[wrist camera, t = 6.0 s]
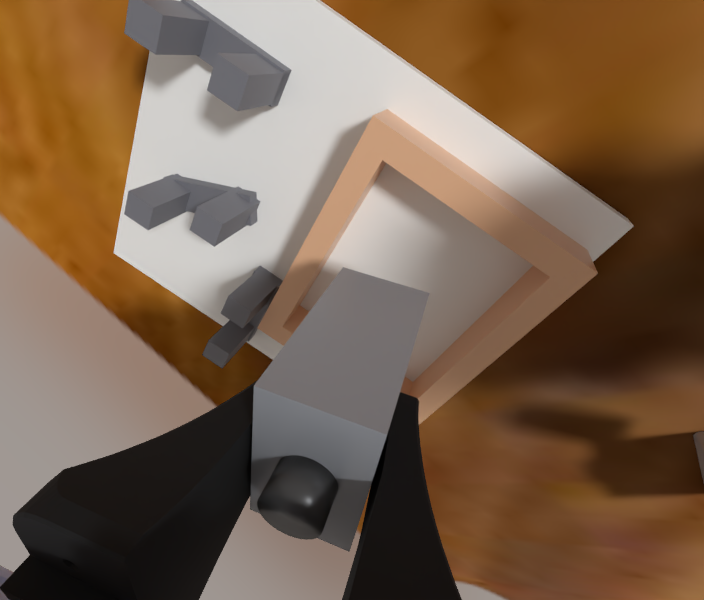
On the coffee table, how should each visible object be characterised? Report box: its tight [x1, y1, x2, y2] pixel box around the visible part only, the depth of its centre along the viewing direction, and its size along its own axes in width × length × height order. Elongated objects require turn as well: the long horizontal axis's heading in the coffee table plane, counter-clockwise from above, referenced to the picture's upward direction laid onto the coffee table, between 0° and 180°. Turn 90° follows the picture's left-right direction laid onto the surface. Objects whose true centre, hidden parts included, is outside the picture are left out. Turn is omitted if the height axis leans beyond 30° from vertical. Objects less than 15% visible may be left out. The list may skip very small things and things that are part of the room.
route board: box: [114, 0, 634, 382], centre depth 17 cm, size 19×16×4 cm
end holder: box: [258, 109, 598, 424], centre depth 17 cm, size 9×11×2 cm
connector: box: [250, 267, 429, 551], centre depth 12 cm, size 3×5×7 cm, turn 170°
